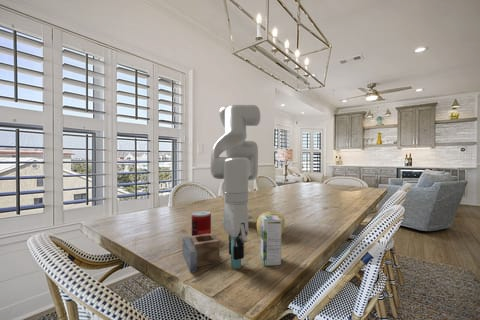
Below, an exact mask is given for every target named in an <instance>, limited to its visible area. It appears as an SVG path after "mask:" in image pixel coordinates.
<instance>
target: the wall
mask: <svg viewBox="0 0 480 320" xmlns="http://www.w3.org/2000/svg"><path fill="white" fill-rule="evenodd" d="M182 255H183V259H184V261H185V263H186V265H187V268H188V270H189V273H190V274H191V273H195V272H198V266H197V250H196V249H195V247H194V245H193V244H192V242H191V240H190V236H182Z"/></svg>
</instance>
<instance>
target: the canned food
mask: <svg viewBox="0 0 480 320" xmlns="http://www.w3.org/2000/svg"><path fill="white" fill-rule="evenodd" d="M211 220H212V212H211V211H207V210H197V211H193V212H192V213H191V236H196V235H203V234H211V233H212V221H211Z"/></svg>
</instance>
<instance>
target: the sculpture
mask: <svg viewBox="0 0 480 320" xmlns="http://www.w3.org/2000/svg"><path fill="white" fill-rule="evenodd" d="M264 215H274V216H278V217H279V218H280V220H281V235H282V234H283V232H284V230H285V226H286V225H285V223H286V222H285V221H286V220H285V216H284V215H282V214H280V213H278V212H277V211H267V212H266V211H264V212H263V213H262V214H260V215H259V216H258V219H257V221H256V230H257V233H258V234H259V236H260V237H261V216H264Z"/></svg>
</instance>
